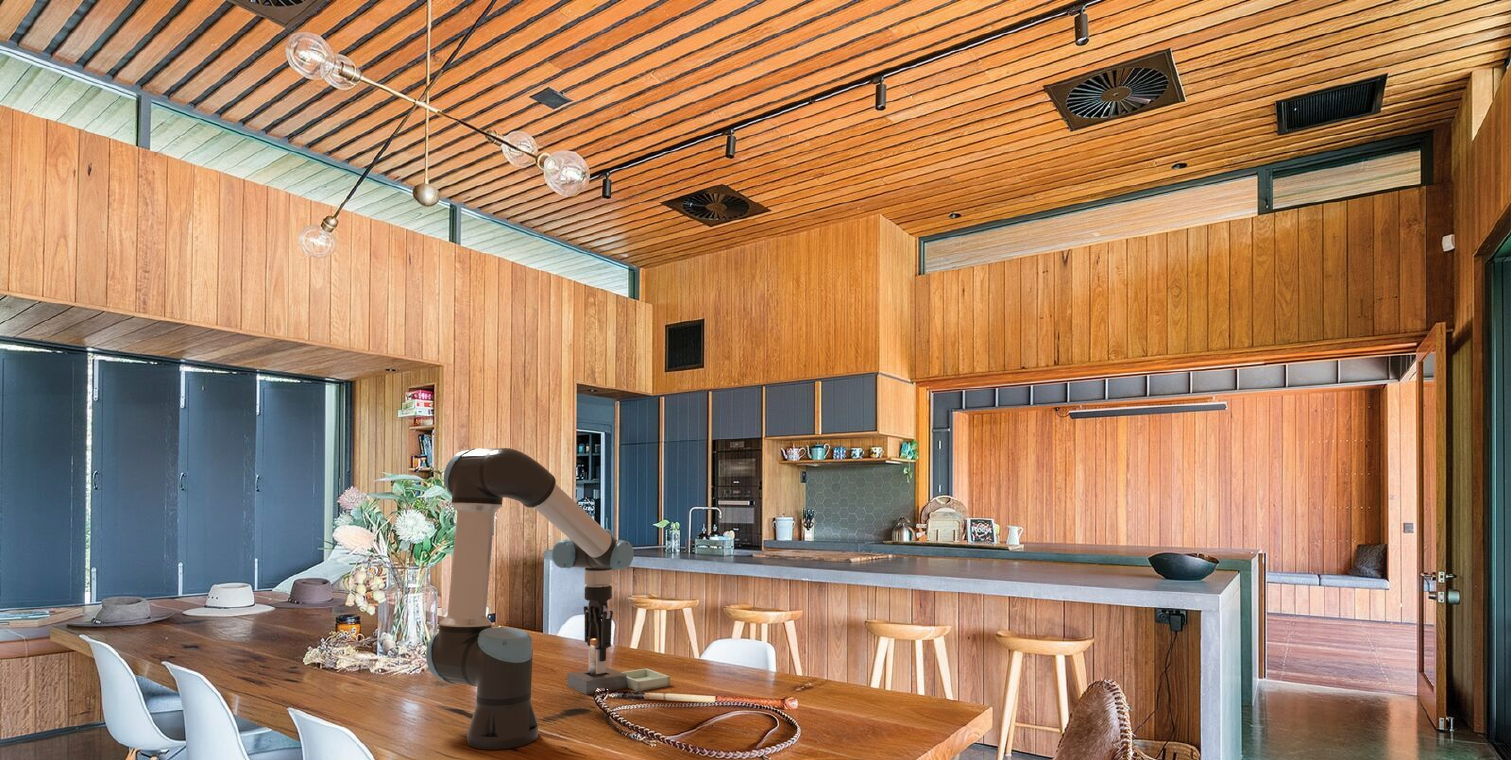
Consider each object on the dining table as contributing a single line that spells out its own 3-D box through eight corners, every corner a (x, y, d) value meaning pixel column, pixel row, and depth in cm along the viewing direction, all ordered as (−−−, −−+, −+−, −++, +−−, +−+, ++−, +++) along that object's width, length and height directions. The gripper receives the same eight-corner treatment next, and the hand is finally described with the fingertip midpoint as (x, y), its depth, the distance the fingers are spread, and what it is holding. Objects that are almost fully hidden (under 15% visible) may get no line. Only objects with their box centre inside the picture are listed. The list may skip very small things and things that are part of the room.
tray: (637, 691, 228) (638, 681, 228) (615, 682, 239) (615, 673, 239) (669, 685, 234) (669, 676, 234) (646, 677, 244) (646, 668, 245)
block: (586, 694, 225) (586, 680, 226) (567, 685, 235) (567, 672, 235) (626, 687, 232) (626, 674, 233) (606, 679, 242) (606, 666, 242)
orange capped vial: (593, 689, 231) (594, 640, 232) (586, 686, 234) (587, 638, 235) (606, 687, 233) (607, 638, 235) (600, 684, 236) (600, 636, 238)
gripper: (624, 587, 232) (623, 675, 229) (596, 581, 246) (595, 664, 243) (599, 589, 228) (598, 679, 225) (572, 583, 241) (571, 667, 238)
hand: (597, 671), depth 234 cm, fingers closed on orange capped vial, 4 cm apart
